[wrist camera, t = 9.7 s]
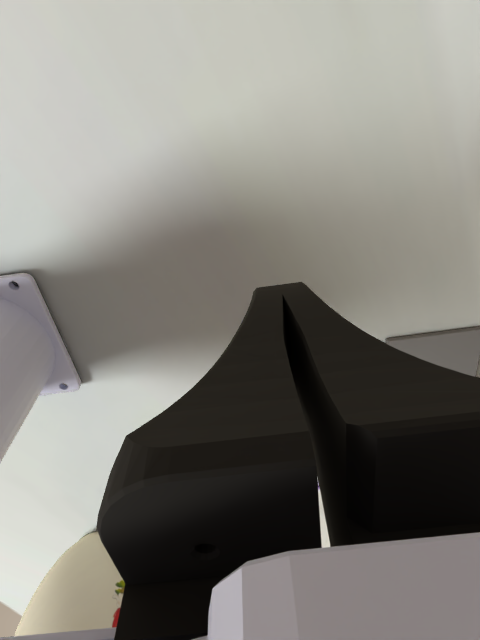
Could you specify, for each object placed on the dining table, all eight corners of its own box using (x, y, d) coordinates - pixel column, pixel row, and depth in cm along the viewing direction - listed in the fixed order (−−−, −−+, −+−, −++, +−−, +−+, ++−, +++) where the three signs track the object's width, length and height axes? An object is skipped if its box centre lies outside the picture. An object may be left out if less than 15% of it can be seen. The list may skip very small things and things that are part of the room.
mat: (378, 486, 32) (380, 489, 32) (385, 338, 25) (387, 341, 24) (452, 478, 32) (454, 481, 31) (482, 326, 24) (485, 328, 24)
